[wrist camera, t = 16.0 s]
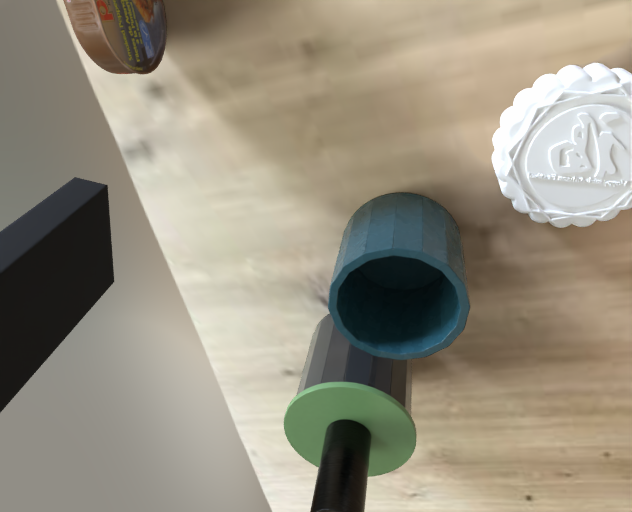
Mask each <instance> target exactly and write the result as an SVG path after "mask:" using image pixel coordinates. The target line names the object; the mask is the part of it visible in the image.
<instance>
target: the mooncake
mask: <svg viewBox="0 0 632 512" xmlns="http://www.w3.org/2000/svg"><path fill="white" fill-rule="evenodd" d="M500 125H501V128H499V129H498V130H497V131H496V132H495V134H494V136H493V145H494V148H495V151H494V153H493V155H492V163H493V166H494V169H495V173H496V175H497V178H498V182H499V185H500V188H501V191H502V193H503V195H504V196H505V197H507V198H509V199H511V201H512V205H513V207H514V209H515V210H517V211H518V212H520V213H528V214H529V217H530V218H531V219H532V220H533V221H535V222H537V223H545V222H548V221H549V223H550V224H551V225H553V226H555V227H558V228H563V227H567V226H569V225H571V224H573V225H575V226H578V227H586V226H589V225H591V224H593V223H594V222H595V221H596V220H599V221H608V220H611V219H613V218H614V217H616V216H617V215H618V213H619V212H620V210H627V209H630V208H632V74H631V73H630V72H628V71H627V70H625V69H623V68H613V69H611V70H610V69H609V68H608V67H606V66H605V65H603V64H601V63H592V64H589V65H587V66H586V67H584V68H583V69H582V68H581V67H579V66H577V65H569V66H566V67H564V68H562V69H561V70H560V71H559V72H558V73H557V75H554V74H546V75H543V76H541V77H539V78H538V79H537V80H536V81H535V83H534V85H533V88H527V89H524V90H522V91H521V92H519V93H518V94H517V96H516V97H515V99H514V106H512V107H510V108H508V109H506V110H505V111H504V112H503V114H502V115H501V118H500Z"/></svg>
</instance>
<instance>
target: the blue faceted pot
mask: <svg viewBox="0 0 632 512" xmlns="http://www.w3.org/2000/svg"><path fill="white" fill-rule="evenodd" d="M328 309H329V312H330V314H331V317H332V319H333V322H334V324H335V327H336V329H337V330H338V331H339V332H340V333H341V334H342V335H343V336H344V337H345V338H346V339H347V340H348V341H349V342H350V343H351V344H352V345H353V346H355V347H357V348H359V349H361V350H363V351H365V352H367V353H369V354H371V355H373V356H377V357H383V358H389V359H395V360H407V359H414V358H422V357H427V356H429V355H431V354H433V353H435V352H437V351H440V350H442V349H444V348H446V347H448V346H449V345H450V344H451V343H452V342H453V341H454V340H455V339H456V338H457V336H458V335H459V334H460V333H461V332H462V331H463V330H464V327H465V324H466V320H467V317H468V313H469V310H470V302H469V294H468V286H467V278H466V270H465V263H464V255H463V247H462V242H461V238H460V233H459V229H458V226H457V225H456V222H455V221H454V219H453V218H452V216H451V215H450V214H449V213H448V212H447V210H446V209H444V208H443V207H442V206H441V205H439V204H438V203H436V202H435V201H433V200H431V199H429V198H427V197H424V196H421V195H417V194H411V193H392V194H386V195H383V196H379V197H377V198H375V199H372V200H370V201H369V202H367V203H365V204H364V205H363V206H362V207H360V208H359V209H358V210H357V211H356V212H355V213H354V215H353V216H352V217H351V219H350V221H349V223H348V225H347V227H346V229H345V231H344V234H343V238H342V242H341V246H340V250H339V254H338V257H337V261H336V265H335V269H334V273H333V277H332V281H331V285H330V291H329V302H328Z"/></svg>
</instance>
